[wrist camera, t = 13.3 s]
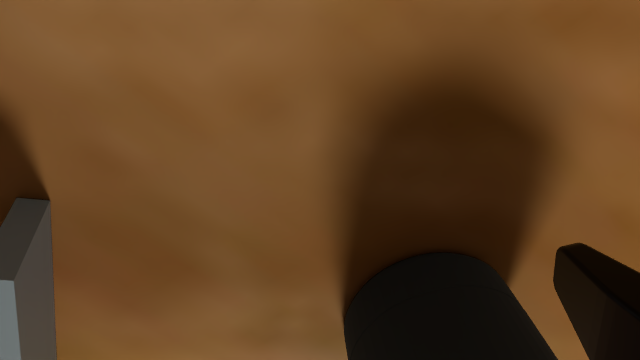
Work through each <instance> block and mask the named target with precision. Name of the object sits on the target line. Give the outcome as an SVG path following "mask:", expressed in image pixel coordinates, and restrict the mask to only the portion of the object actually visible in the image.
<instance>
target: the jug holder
mask: <svg viewBox="0 0 640 360" xmlns="http://www.w3.org/2000/svg"><path fill="white" fill-rule="evenodd" d="M0 360H57V355H56V332H55V308H54V284H53V261H52V237H51V213H50V201H48V200H37V199H26V198H16V199H15V201H14V203H13V205H12V207H11V209H10V211H9V212H8V214H7V216H6V218H5V220H4V222H3V223H2V225H1V227H0Z"/></svg>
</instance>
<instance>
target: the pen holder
mask: <svg viewBox="0 0 640 360" xmlns="http://www.w3.org/2000/svg"><path fill="white" fill-rule="evenodd" d="M344 336H345V343H346V349H347V356H348V360H558V359H557V357H556V356H555V354H554V353H553V352H552V350H551V349H550V347H549V346H548V344H547V343H546V341H545V340H544V338H543V337H542V335H541V334H540V332H539V331H538V329H537V328H536V326H535V325H534V323H533V322H532V320H531V319H530V317H529V316H528V314H527V313H526V312H525V310H524V309H523V308H522V306H521V305H520V303H519V302H518V300H517V299H516V297H515V296H514V294H513V293H512V292H511V290H510V289H509V287H508V286H507V285H506V283H505V282H504V280H503V279H502V278H501V277H500V275H499V274H498V273H497V272H496V271H495V270H494V269H493V268H492V267H490V266H489V265H488V264H486V263H484V262H483V261H481V260H478V259H476V258H473V257H469V256H465V255H461V254H454V253H431V254H424V255H419V256H415V257H412V258H408V259H405V260H403V261H400V262H398V263H396V264H394V265H392V266H390V267H388V268H386V269H384V270H383V271H381V272H380V273H378V274H377V275H376V276H374V277H373V278H372V279H371V280H369V281H368V282H367V283H366V284H365V285H364V286H363V287H362V289H361V290H360V291H359V292H358V294H357V295H356V297H355V298H354V300H353V301H352V303H351V305H350V306H349V309H348V311H347V314H346V318H345V322H344Z"/></svg>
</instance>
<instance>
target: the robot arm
mask: <svg viewBox="0 0 640 360" xmlns="http://www.w3.org/2000/svg"><path fill="white" fill-rule="evenodd" d="M553 282H554V287H555V290H556V292H557V294H558V296H559V298H560V301H561V303H562V305H563V307H564V309H565V311H566V313H567V315H568V317H569V319H570V321H571V323H572V325H573V327H574V329H575V331H576V333H577V335H578V337H579V339H580V341H581V343H582V345H583V347H584V349H585V352H586V354H587V355H588V357H589V359H590V360H640V273H639V272H637V271H635V270H634V269H632V268H630V267H628V266H626V265H624V264H622V263H620V262H618V261H616V260H614V259H612V258H610V257H608V256H607V255H605V254H603V253H601V252H599V251H597V250H595V249H593V248H591V247H589V246H587V245H585V244H582V243H574V244H570V245H566V246H561V247H559V248H558V250H557V252H556V259H555V268H554V276H553Z"/></svg>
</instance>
